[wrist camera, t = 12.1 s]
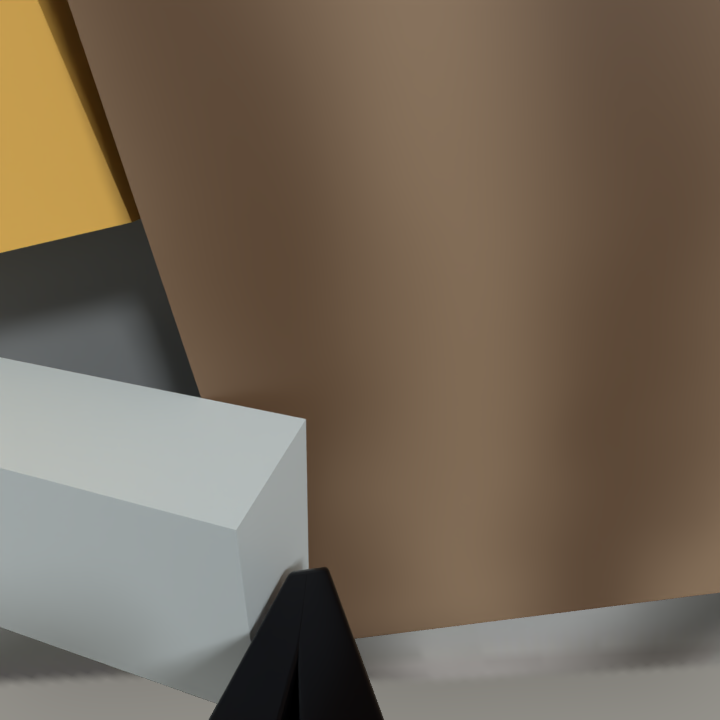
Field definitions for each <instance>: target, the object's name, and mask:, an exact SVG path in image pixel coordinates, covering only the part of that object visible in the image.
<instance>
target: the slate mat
mask: <svg viewBox="0 0 720 720" xmlns="http://www.w3.org/2000/svg"><path fill="white" fill-rule="evenodd" d="M0 357H1V358H6V359H11V360H16V361H21V362H26V363H31V364H36V365H41V366H46V367H51V368H56V369H60V370H65V371H70V372H75V373H80V374H85V375H90V376H95V377H100V378H105V379H110V380H115V381H120V382H125V383H130V384H135V385H140V386H145V387H150V388H154V389H159V390H164V391H169V392H174V393H179V394H184V395H189V396H194V397H199V398H201V396H200V393H199V390H198V387H197V384H196V381H195V378H194V375H193V372H192V369H191V366H190V363H189V360H188V357H187V354H186V351H185V348H184V345H183V342H182V339H181V336H180V333H179V330H178V327H177V325H176V322H175V319H174V316H173V313H172V310H171V307H170V304H169V301H168V298H167V295H166V292H165V289H164V286H163V283H162V280H161V277H160V274H159V271H158V268H157V265H156V262H155V259H154V256H153V253H152V250H151V247H150V244H149V241H148V238H147V235H146V232H145V229H144V226H143V223H142V220H141V219H138V220H136V221H134V222H131V223H127V224H123V225H118V226H114V227H110V228H105V229H101V230H97V231H92V232H88V233H84V234H80V235H75V236H71V237H67V238H62V239H58V240H54V241H49V242H45V243H41V244H36V245H32V246H28V247H24V248H19V249H15V250H11V251H6V252H2V253H0Z"/></svg>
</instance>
